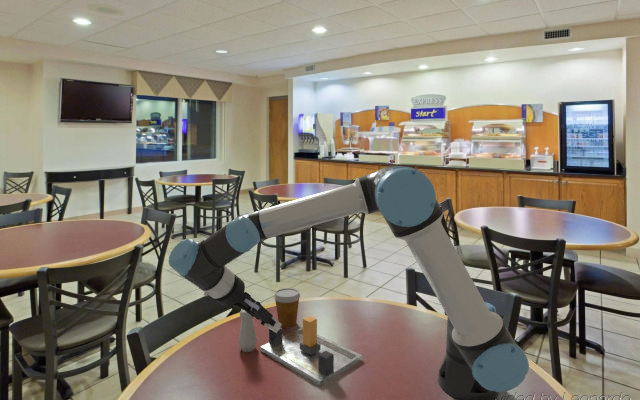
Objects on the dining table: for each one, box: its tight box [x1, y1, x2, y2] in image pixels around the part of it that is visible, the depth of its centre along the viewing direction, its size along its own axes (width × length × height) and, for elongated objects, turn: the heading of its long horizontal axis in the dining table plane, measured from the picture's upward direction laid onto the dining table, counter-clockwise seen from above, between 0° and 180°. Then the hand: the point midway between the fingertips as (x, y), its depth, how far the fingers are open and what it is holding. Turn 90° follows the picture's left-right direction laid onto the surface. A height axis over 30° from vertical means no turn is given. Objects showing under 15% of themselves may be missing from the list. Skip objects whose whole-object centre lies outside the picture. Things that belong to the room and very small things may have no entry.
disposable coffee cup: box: [273, 287, 301, 329], centre depth 137 cm, size 10×10×12 cm
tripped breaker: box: [300, 315, 320, 355], centre depth 116 cm, size 5×4×10 cm
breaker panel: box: [260, 326, 363, 387], centre depth 117 cm, size 26×18×6 cm
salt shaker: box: [238, 309, 258, 353], centre depth 120 cm, size 6×6×13 cm
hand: (277, 327), depth 107 cm, fingers closed
